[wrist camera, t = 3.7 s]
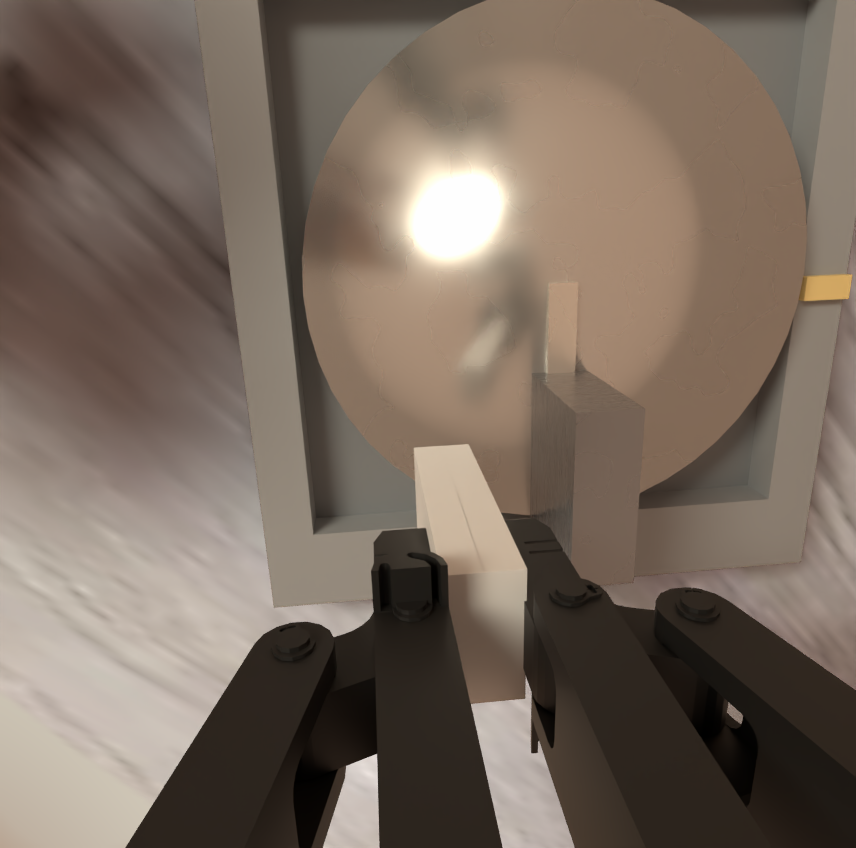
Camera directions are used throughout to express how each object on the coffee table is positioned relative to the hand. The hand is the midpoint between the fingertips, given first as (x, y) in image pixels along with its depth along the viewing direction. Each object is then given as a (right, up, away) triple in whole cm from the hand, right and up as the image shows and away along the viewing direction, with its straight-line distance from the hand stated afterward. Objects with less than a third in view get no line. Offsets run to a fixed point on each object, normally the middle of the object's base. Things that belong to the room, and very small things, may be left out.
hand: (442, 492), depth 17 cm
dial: (+3, +6, +2) cm, 7 cm away
